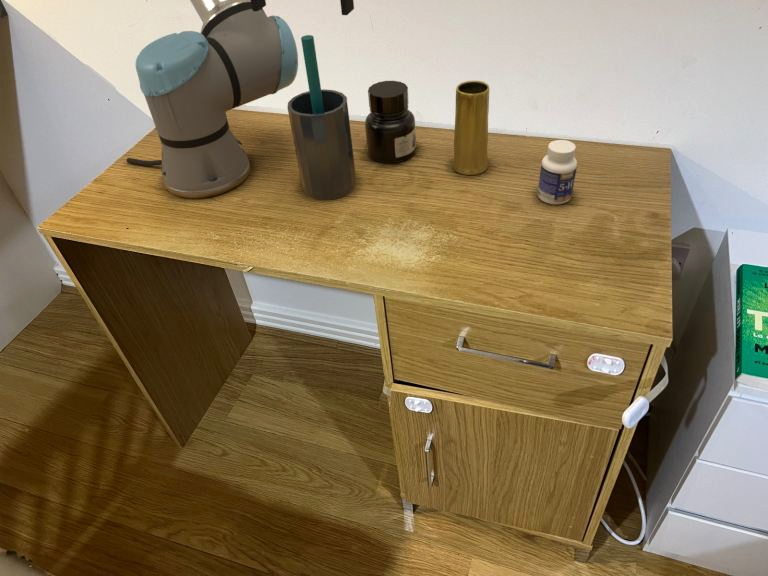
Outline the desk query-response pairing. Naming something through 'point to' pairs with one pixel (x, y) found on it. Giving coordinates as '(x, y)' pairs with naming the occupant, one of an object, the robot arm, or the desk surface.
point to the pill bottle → (558, 173)
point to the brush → (312, 74)
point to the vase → (471, 128)
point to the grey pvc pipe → (323, 145)
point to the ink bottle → (390, 123)
